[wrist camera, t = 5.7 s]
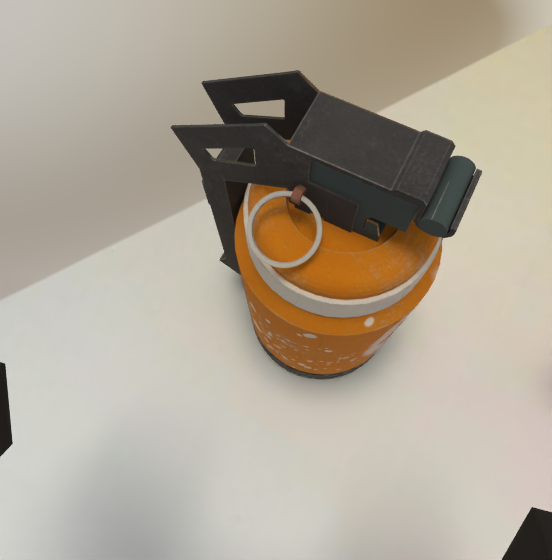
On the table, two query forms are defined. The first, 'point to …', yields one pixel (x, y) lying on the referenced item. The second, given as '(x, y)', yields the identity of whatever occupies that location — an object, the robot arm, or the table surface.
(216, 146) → the canister
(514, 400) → the table surface
